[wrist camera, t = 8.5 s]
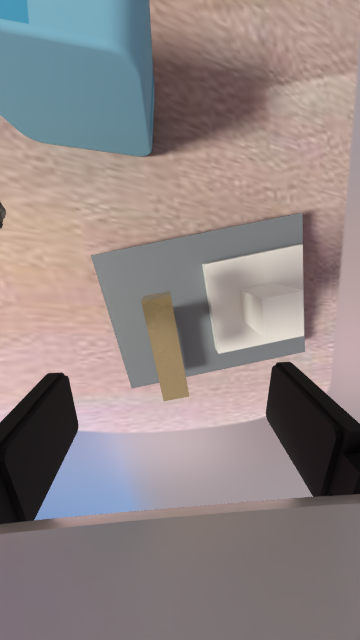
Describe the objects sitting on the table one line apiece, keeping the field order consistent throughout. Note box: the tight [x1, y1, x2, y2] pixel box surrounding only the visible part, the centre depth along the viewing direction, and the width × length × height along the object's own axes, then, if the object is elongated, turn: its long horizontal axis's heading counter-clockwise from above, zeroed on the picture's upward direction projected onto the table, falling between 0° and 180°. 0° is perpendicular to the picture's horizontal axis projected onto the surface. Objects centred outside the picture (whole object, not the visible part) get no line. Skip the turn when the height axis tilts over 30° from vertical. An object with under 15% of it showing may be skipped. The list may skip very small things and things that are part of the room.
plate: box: [91, 213, 305, 388], centre depth 25 cm, size 22×16×3 cm
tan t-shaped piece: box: [141, 291, 189, 401], centre depth 20 cm, size 11×2×9 cm, turn 10°
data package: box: [0, 0, 155, 156], centre depth 15 cm, size 12×4×12 cm, turn 85°
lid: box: [202, 244, 304, 354], centre depth 21 cm, size 10×10×6 cm
